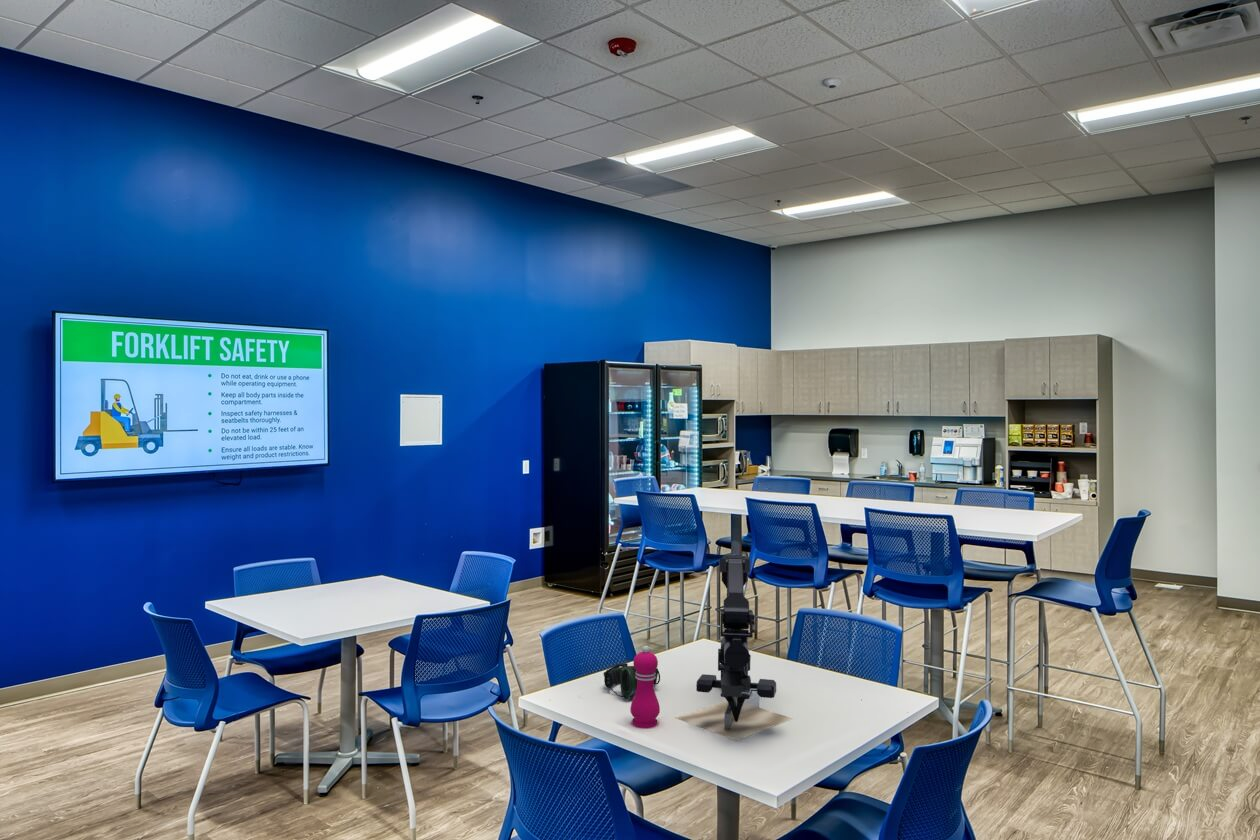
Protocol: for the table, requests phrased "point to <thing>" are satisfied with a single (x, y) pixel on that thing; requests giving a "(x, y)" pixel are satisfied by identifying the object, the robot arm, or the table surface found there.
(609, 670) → the headphones
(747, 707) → the fixed leaf
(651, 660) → the pepper mill
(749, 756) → the table surface
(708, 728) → the board
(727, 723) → the swing leaf
